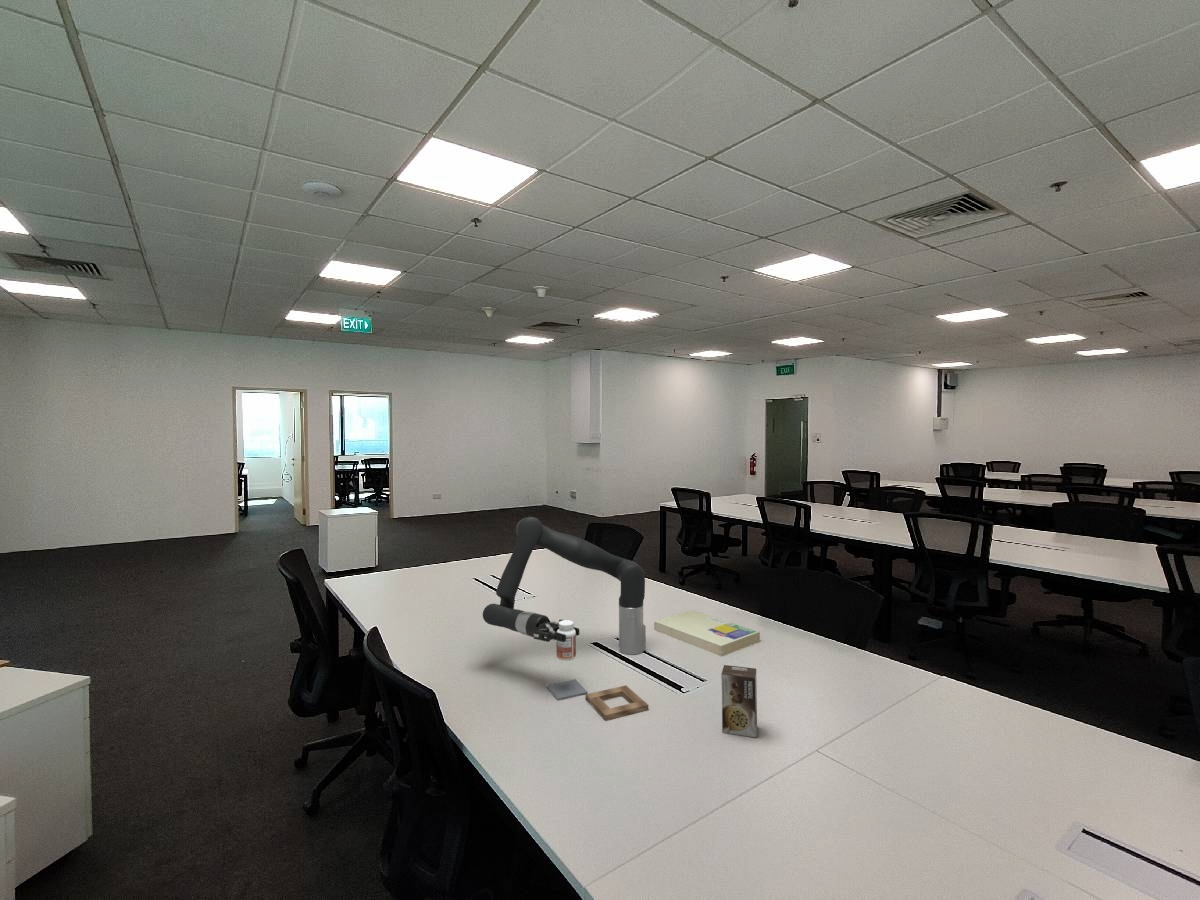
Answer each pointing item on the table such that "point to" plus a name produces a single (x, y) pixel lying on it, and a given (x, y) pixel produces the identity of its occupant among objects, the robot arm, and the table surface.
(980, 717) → the table surface
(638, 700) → the board
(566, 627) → the pill bottle
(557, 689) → the pad
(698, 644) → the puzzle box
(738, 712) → the coffee box
